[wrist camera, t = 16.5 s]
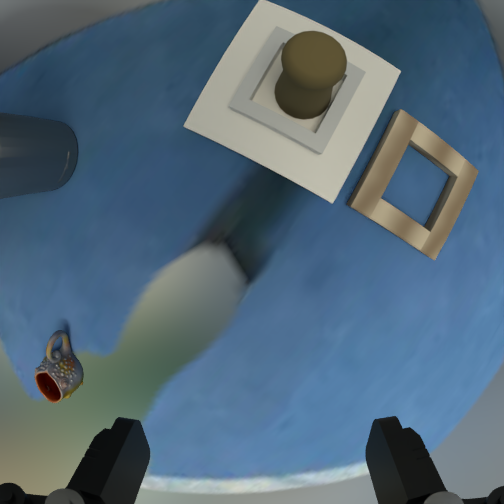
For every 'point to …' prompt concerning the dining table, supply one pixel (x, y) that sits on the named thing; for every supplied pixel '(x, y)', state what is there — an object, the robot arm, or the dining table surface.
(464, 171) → the tan square frame
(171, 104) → the dining table surface
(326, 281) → the dining table surface
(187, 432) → the dining table surface
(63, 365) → the mug
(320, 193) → the dock
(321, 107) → the cork
